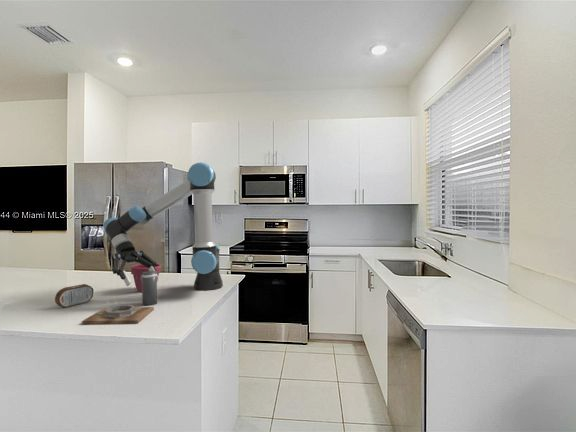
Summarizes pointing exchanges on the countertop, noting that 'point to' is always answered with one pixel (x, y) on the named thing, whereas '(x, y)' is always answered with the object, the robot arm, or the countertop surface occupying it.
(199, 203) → the robot arm
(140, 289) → the plant pot
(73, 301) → the tin
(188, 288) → the countertop surface
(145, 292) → the dome-topped grey cylinder
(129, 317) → the mount board
